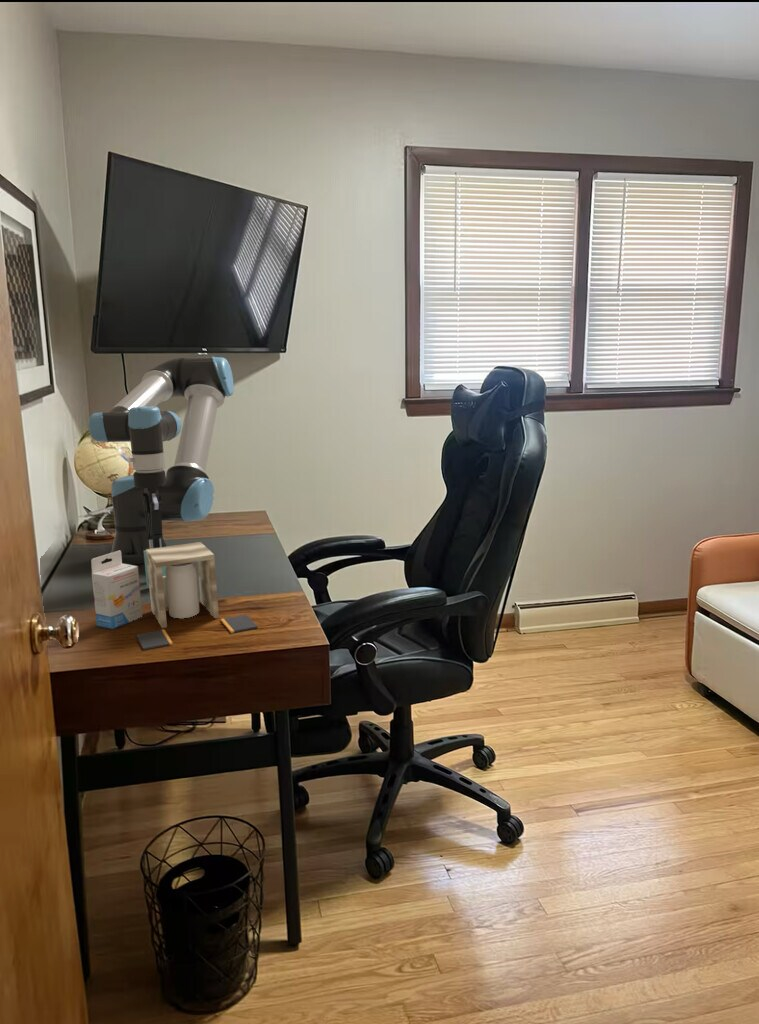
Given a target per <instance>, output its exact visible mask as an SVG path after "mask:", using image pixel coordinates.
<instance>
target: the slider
mask: <svg viewBox="0 0 759 1024" xmlns="http://www.w3.org/2000/svg"><path fill="white" fill-rule="evenodd" d="M144 561H145V563H144V570H145V580H146V588H149V578H148V568H147V557H146V550H145V551H144ZM166 567H167V566H164V567H162V577H163V588H164V599H165V609H166V608H169V606H168V595H167V583H166Z"/></svg>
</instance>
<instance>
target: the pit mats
mask: <svg viewBox="0 0 759 1024" xmlns="http://www.w3.org/2000/svg"><path fill="white" fill-rule="evenodd" d="M220 622H221V623H222V624H223V625H224V627H226V629H227V630H228V632H229V633H230V634H233V633H239V632H240V633H241V632H245V631H250V630H254V629H256V630H257V629H258V628H259V627H258V625H257V624H256V623H255V622H254V621H253V620H252V618H250V616H248V614H242V615H241V614H240V615H235V616H231V617H226V618H220ZM135 637H136V638H137V640H138V642H139V644H140V646H141V648H142V650H143V651H146V650H153V649H157V648H162V647H168V646H173V645H174V642H173V641H172V639H171V637H170V636H169V634H168V633H167V631H166V630H165V628H162V629H160V630H159V629H158V630H154V631H148V632H143V633H137V634H136V636H135Z"/></svg>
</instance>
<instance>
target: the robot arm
mask: <svg viewBox="0 0 759 1024" xmlns="http://www.w3.org/2000/svg"><path fill="white" fill-rule="evenodd" d="M233 393H234V377H233V371H232V369H231V365H230V362H228V360H227V359H226V358H225V357H219V356H218V357H216V356H211V357H174V358H171V359H168V360H166V361H163V362H161V363H158V364H157V365H155V366H154V367H152V368H151V369H149V370H148V371H146V373H144V375H143V376H142V378H141V381H140V383H139V384H138V385H137V386H135V387H134V388H133V389H131V391H130V392H129V393H127V395H125V396H124V397H123V398H122V399H121V400H120V401H119V402H117V403H116V404H115V405H114V406H112V407H111V408H110V409H109V411H106V412H105V411H104V412H103V411H101V412H93V413H92V414H91V415H90V417H89V420H88V425H87V426H88V427H87V428H88V431H89V435H90V438H92V440H93V441H95V442H100V443H101V442H103V443H123V442H124V443H125V442H127V443H128V442H129V443H130V449H131V451H130V452H131V453H130V454H131V457H130V458H129V462H130V463H132V469H133V470H134V472H133V474H130V475H125V476H121V477H118V478H116V479H114V480H113V481H112V482H111V495H110V497H111V500H112V510H113V517H114V527H115V528H114V529H115V535H114V537H113V538H114V539H113V544H112V547H111V552H110V553H112V552H116V551H119V550H120V551H121V557H122V564H128V565H139V564H145V561H144V551H145V550H146V549H152V548H159V547H167V546H168V544H167V542H166V540H165V538H164V534H163V522H189V523H190V522H195V521H202V520H204V519H206V517H208V516H209V514H210V512H211V510H212V507H213V504H214V499H215V497H214V494H215V489H214V484H213V482H212V481H211V479H210V477H209V475H208V473H207V472H206V469H207V463H208V458H209V452H210V447H211V441H212V438H213V432H214V428H215V422H216V417H217V411H218V408H220V407H222V406H223V404H224V402H225V398H226V397H227V398H228V397H229V398H230V397H231V396H233V395H234V394H233ZM177 397H178V398H180V397H181V398H182V397H184V398H185V399H186V401H187V405H186V409H185V412H184V413H185V414H184V419H183V422H182V420H181V419H180V417H179V416H178V415H177V414H176V413H175V412H173V411H172V410H161V409H160V408H159V407H158V405H159V404H160V403H162V402H166V401H168V400H169V399H171V398H177ZM182 423H183V424H182ZM179 434H180V436H179V442H178V445H177V450H176V455H175V460H174V464H173V465H172V466H170V467H169V468H168V469H167V470H166V471H165V470H164V469H165V468H166V464H165V463H166V462H165V452H164V442H166V441H167V442H168V441H171V440H173V439H175V438H176V437H177V436H178V435H179Z"/></svg>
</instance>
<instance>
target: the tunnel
mask: <svg viewBox="0 0 759 1024" xmlns="http://www.w3.org/2000/svg"><path fill="white" fill-rule="evenodd" d="M146 557H147V568H148V578H149V587H148V588H149V595H150V596H149V599H150V609H151V612H152V614H153V615H155V616H154V617H155V619H156V621H157V620H158V621H157V622H158V624H159V625H160V627H161V628H162V629H165V628H167V627H168V623H167V613H166V608H165V599H164V588H163V577H162V567H164V566H171V565H178V564H185V563H191V562H193V563H197V571H198V573H197V574H198V585H199V586H198V587H199V596H200V598H199V600H200V603H201V604H202V606H203V605H204V606H205V607H206V608H205V607H204V606H203V607H204V608H205V609H206V611H207V610H208V611H209V612H210V613H209V612H208V611H207V612H208V613H209V615H210V616H211V617H212V616H213V617H214V618H215V619H219V618H220V615H219V601H218V599H219V598H218V590H217V578H216V577H217V576H216V562H215V554H214V553H213V552H212V551H211V550H210V549H209V548H208V547H207V546H206V545H204V544H203V543H202V542H201V541H196V542H190V543H184V544H183V543H182V544H175V545H167V547H159V548H152V549H146ZM213 617H212V618H213ZM214 618H213V619H214Z"/></svg>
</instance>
